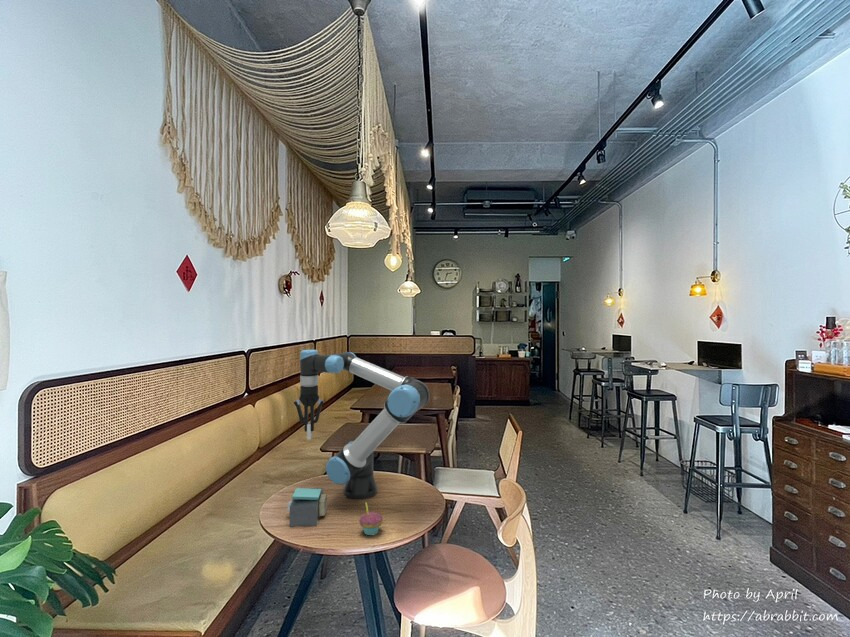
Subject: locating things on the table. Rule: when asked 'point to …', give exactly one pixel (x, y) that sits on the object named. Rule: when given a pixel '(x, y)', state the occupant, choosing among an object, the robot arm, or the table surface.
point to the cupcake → (370, 522)
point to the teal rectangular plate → (306, 494)
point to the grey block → (304, 512)
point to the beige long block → (321, 505)
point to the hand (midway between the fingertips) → (309, 438)
